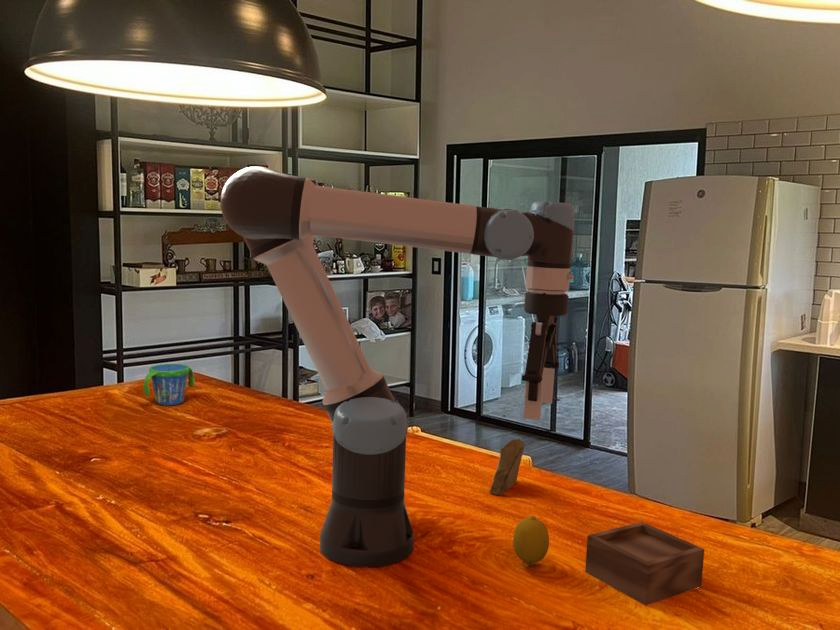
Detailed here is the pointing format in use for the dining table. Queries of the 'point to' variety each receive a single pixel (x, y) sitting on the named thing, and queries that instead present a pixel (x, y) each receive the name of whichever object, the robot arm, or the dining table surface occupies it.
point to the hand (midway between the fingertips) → (538, 410)
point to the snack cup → (169, 383)
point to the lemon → (531, 540)
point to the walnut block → (644, 562)
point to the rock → (507, 466)
